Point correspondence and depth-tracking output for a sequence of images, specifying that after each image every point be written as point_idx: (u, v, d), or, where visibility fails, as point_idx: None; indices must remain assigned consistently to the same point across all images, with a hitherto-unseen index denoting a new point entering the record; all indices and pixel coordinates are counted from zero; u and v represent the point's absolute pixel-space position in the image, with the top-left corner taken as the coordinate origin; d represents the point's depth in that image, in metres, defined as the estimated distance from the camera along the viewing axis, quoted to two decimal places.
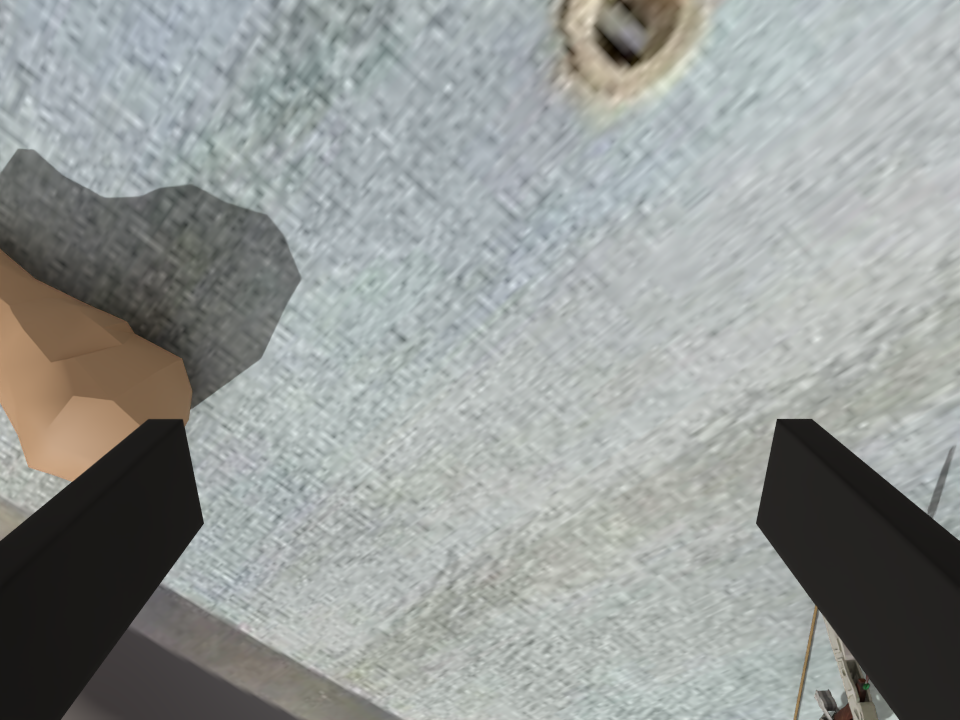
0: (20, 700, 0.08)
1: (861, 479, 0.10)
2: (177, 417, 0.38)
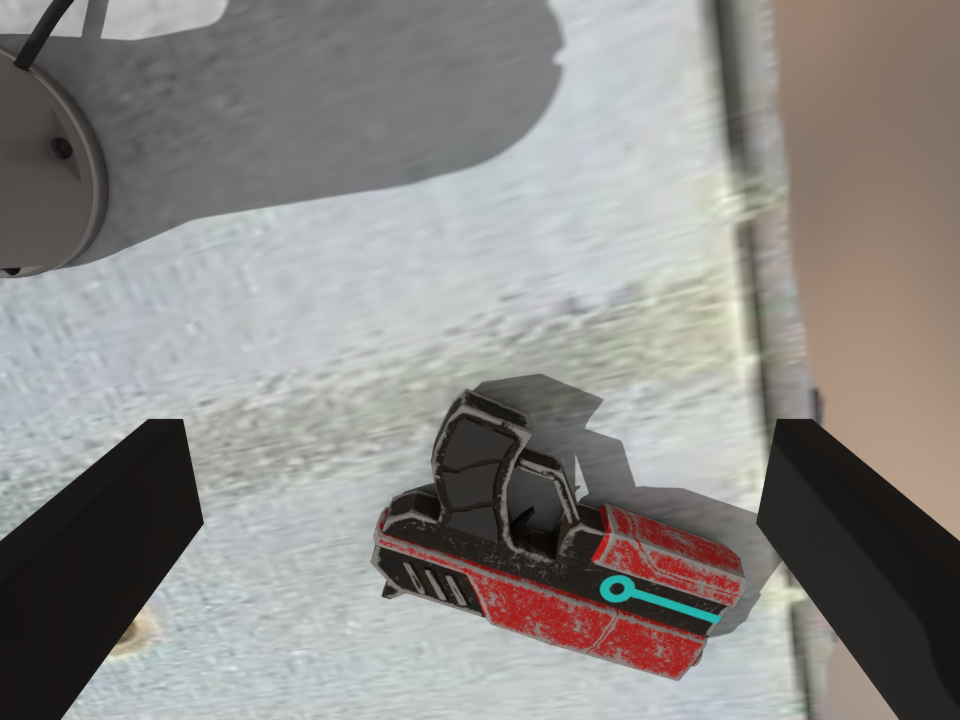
0: (20, 700, 0.08)
1: (861, 479, 0.10)
2: None
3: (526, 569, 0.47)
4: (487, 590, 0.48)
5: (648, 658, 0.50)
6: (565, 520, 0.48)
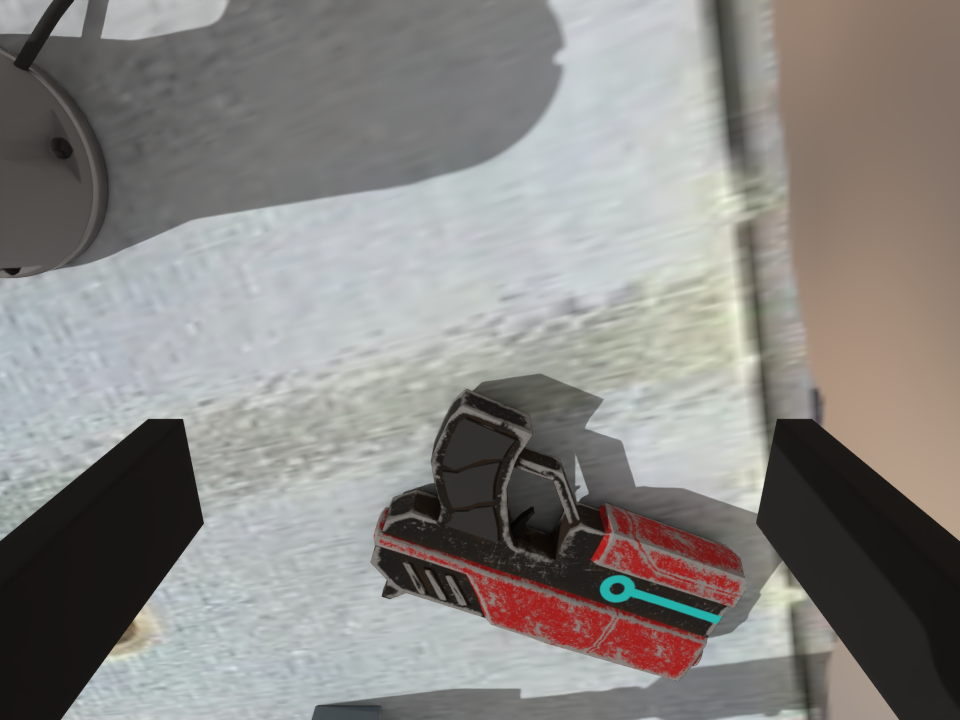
0: (20, 700, 0.08)
1: (861, 479, 0.10)
2: None
3: (526, 569, 0.47)
4: (487, 590, 0.48)
5: (648, 658, 0.50)
6: (565, 520, 0.48)
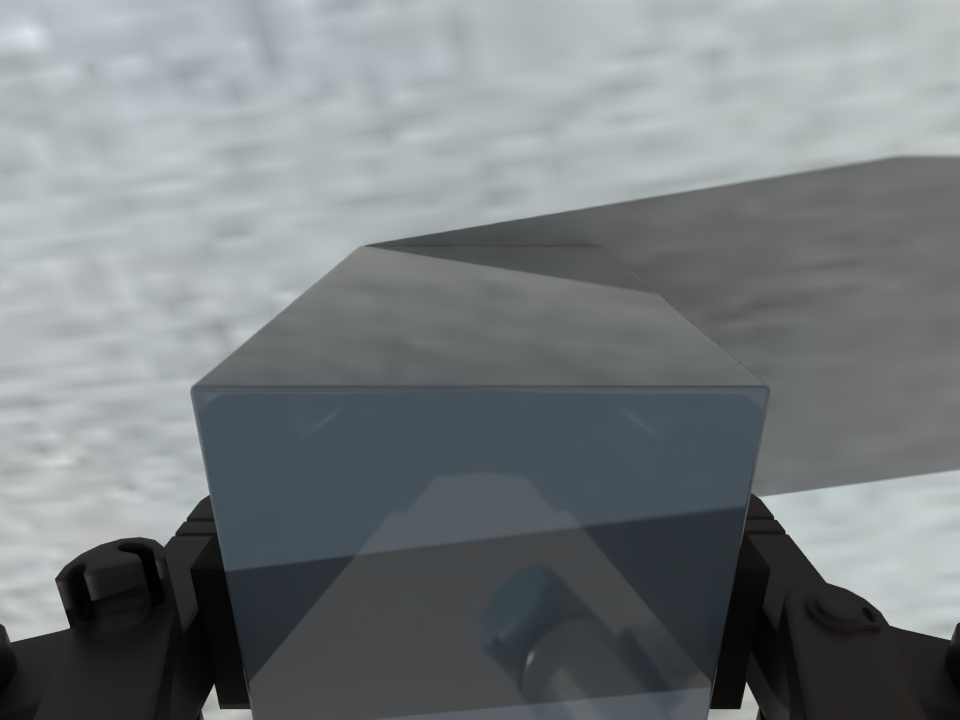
0: None
1: None
2: None
3: None
4: None
5: None
6: None
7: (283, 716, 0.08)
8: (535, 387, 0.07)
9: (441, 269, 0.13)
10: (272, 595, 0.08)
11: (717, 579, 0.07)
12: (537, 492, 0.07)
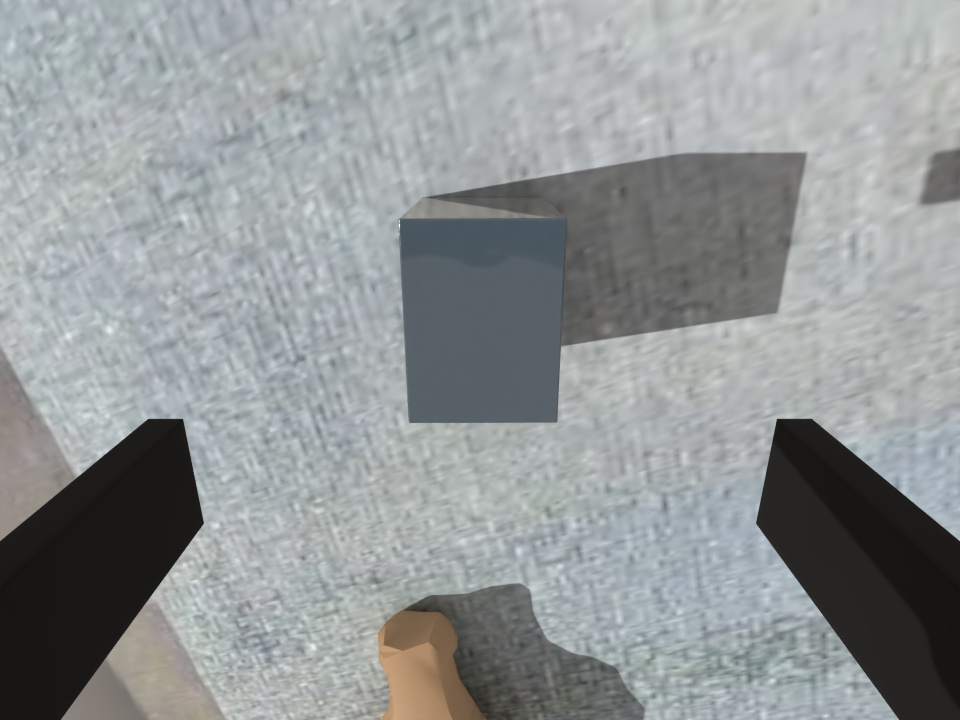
0: (20, 700, 0.08)
1: (861, 479, 0.10)
2: None
3: None
4: None
5: None
6: None
7: (415, 343, 0.24)
8: (498, 218, 0.23)
9: (465, 202, 0.29)
10: (416, 292, 0.24)
11: (557, 285, 0.23)
12: (499, 253, 0.23)
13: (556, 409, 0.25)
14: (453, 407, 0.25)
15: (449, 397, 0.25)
